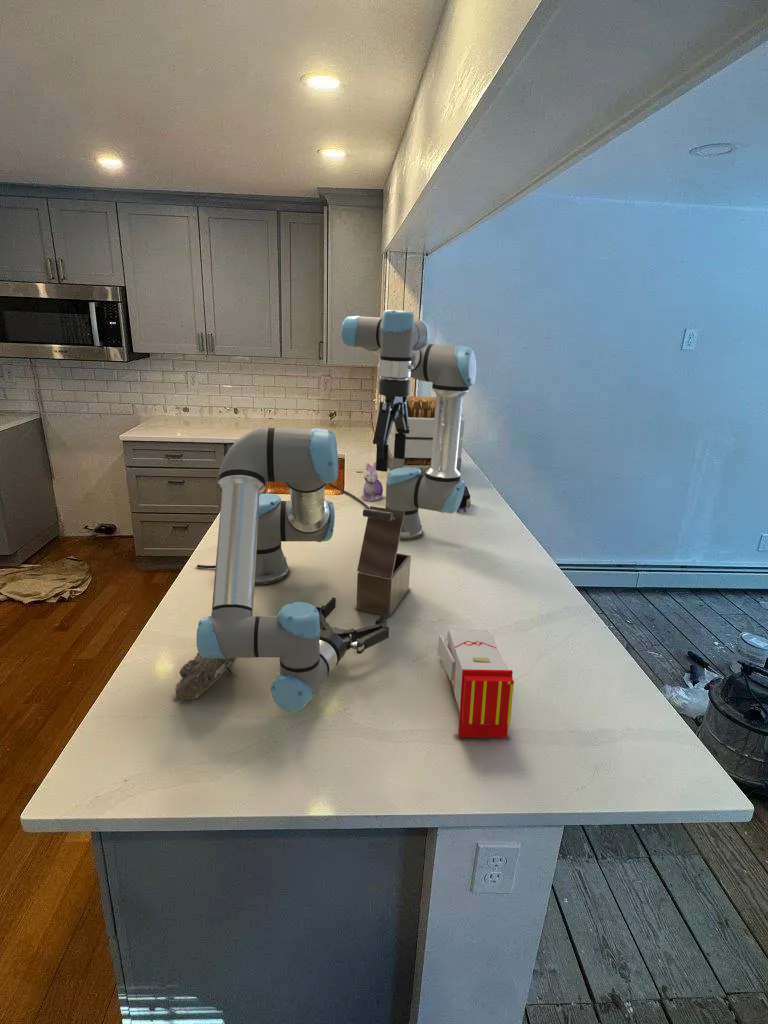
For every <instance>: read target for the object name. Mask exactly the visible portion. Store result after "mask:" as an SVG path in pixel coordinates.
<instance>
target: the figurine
mask: <svg viewBox="0 0 768 1024" xmlns="http://www.w3.org/2000/svg"><path fill="white" fill-rule="evenodd" d="M365 464H366V465H365V466H366V467H365V470H366V471H365V474H364V475H363V476H364V480H365V483H364V485H363V495H362V498H363V500H364V501H368V502H373V501H378V500H381V499H382V498H383V493H384V487H383V483H382V482H381V481H380V480H379V475H378V473H377V470H376V461H375V462H374V463H373V464H372V465H370V463H369V462H366V463H365Z"/></svg>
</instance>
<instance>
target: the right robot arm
mask: <svg viewBox="0 0 768 1024" xmlns="http://www.w3.org/2000/svg"><path fill="white" fill-rule="evenodd" d="M340 330H341V331H340V335H341V340H342V342H343V343H344V345H345V346H347V347H352V348H362V349H364V350H366V351H368V352H370V353H372V354H373V355H375V356H377V357H379V368H378V369H379V372H378V375H379V377H380V379H378V394H379V395H381V396H384V397H385V398H384V401H380V402H379V405H378V406H379V407H378V408H379V409H378V410H379V411H378V414H377V415H378V416H377V420H376V425H375V431H374V435H373V440H372V444H373V445H376V452H375V453H376V455H375V462H376V472H378V471H379V472H385V473H387V472H388V473H387V475H386V482H385V504H384V505H385V507H384V508H386V509H392V510H398V511H404V512H405V514H404V519H403V525H402V530H401V535H400V540H399V541H410V540H415V539H418V538H420V537H421V536H422V535H423V525H422V524H421V518H420V515H419V509H420V510H427V511H433V512H438V513H442V514H443V513H444V514H454V513H456V512H457V509H458V507H459V505H460V503H461V501H462V498H463V494H464V490H465V486H466V482H465V480H463V479H461V474H460V472H459V471H458V470H457V457H458V447H459V436H460V426H461V418H462V417H461V415H462V416H463V403H464V396H465V395H466V394H467V393H468V392H469V390H470V387H472V386H474V385H475V383H476V377H477V359H476V355H475V352H474V350H473V349H472V348H471V347H469V346H464V345H458V344H457V345H455V344H454V345H451V344H438V343H437V344H436V343H435V344H434V343H433V344H432V343H429V342H430V340H431V337H432V334H431V328H430V326H429V325H428V323H427V322H426V321H424V320H423V319H420V318H415V314H414V312H413V311H412V310H398V309H385V310H384V311H382V314H381V317H379V316H378V317H375V316H362V315H361V316H360V315H351V316H347V317H345V318H344V320H343V322H342V325H341V329H340ZM410 378H412V379H414V380H417V381H420V382H427V383H428V382H429V383H432V385H431V389H432V391H433V392H434V393H435V397H436V406H435V419H434V431H433V444H432V456H431V465H430V466H429V468H427V469H426V470H425V474H424V473H423V474H422V470H421V468H419V467H416V466H404V467H403V468H397V469H393V470H391V471H390V470H389V471H388V468H389V467H388V447H389V445H387V442H388V438H389V435H390V431H391V428H392V424H393V422H394V423H395V427H396V431H397V432H398V433H395V447H394V458H398V459H405V443H406V434H409V432H410V430H408V429H409V421H408V411H407V396H410V394H411V380H410ZM405 433H406V434H405ZM326 485H328V486H330V487H332V488H335V489H336V490H339V491H340V492H342V493H345V494H346V495H348V496H350V497H352V498H353V499H354V500H356V501H358V502H359V503H360V504H361V505H363V507H365V508H366V509H370V506H368V505H367V504H366V503H365V502H364V501H362V500H361V499H360V498H358V497H357V496H356V495H354V494H352V493H351V492H349V491H347V490H345V489H343V488H341V487H338V486H337V485H334V484H332V483H327V484H326Z"/></svg>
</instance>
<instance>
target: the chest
mask: <svg viewBox="0 0 768 1024" xmlns="http://www.w3.org/2000/svg"><path fill="white" fill-rule="evenodd" d="M411 559H412V555H410V554H409V555H408V554H404V553H399V552H397V555H396V560H395V565H394V571H393V576H392V578H389V577H384V576H379V575H374V574H369V573H364V572H359V571H357V577H356V578H357V579H356V586H357V587H356V606H355V607H356V610H358V611H363V612H368V613H371V614H372V613H373V614H377V615H381V614H382V612H383V611H384V610H385V609H388V617H391V615H392V614H393V612H394V611H395V609H396V608H397V607H398V605H399V604H400V603H401V601H402V599H404V597H405V596H406V594H407V592H408V591H409V590H410V575H411V562H412V560H411Z"/></svg>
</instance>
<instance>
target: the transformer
mask: <svg viewBox="0 0 768 1024" xmlns="http://www.w3.org/2000/svg"><path fill="white" fill-rule="evenodd" d="M435 406H436V396H415V395H414V396H413V395H412V396H411V395H408V396H407V411H408V421H409V429H408V430H410V432H409V434H406V433H405V434H406V443H405V459H398V458H394V447H395V433H398V432H397V431H396V427H395V423H394V422H393V424H392V428H391V431H390V435H389V438H388V442H387V445H389V447H388V468H389V472H390V471H391V470H393V469H397V468H403V467H405V466H406V467H417V466H418V467H431V456H432V444H433V431H434V419H435ZM464 429H465V419H464V418H463V414H462V415H461V426H460V436H459V447H458V457H457V470H458V471H459V472H460V475H461V472H462V461H463V460H462V453H463V442H464V441H463V440H462V439H463V438H464V431H465V430H464Z"/></svg>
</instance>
